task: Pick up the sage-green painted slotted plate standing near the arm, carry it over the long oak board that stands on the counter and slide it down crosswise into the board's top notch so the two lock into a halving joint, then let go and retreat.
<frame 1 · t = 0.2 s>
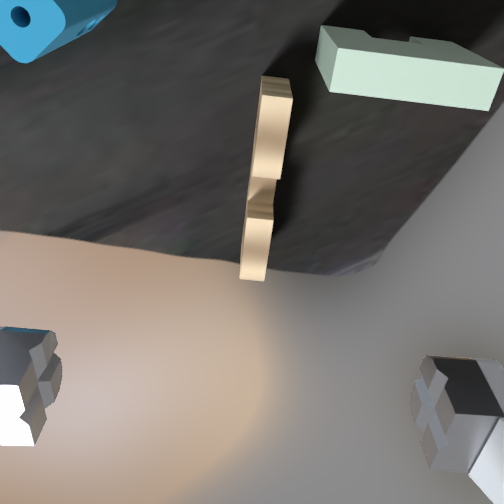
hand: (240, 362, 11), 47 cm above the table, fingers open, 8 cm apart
sage plate: (382, 51, 51), on the table
oak board: (262, 169, 59), on the table
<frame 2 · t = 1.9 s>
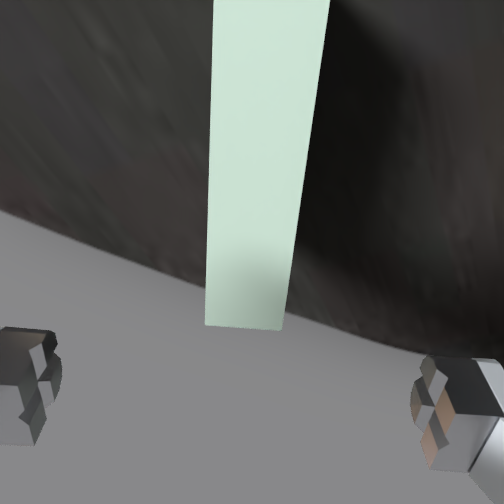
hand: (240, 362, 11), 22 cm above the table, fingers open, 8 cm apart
sage plate: (259, 94, 29), on the table
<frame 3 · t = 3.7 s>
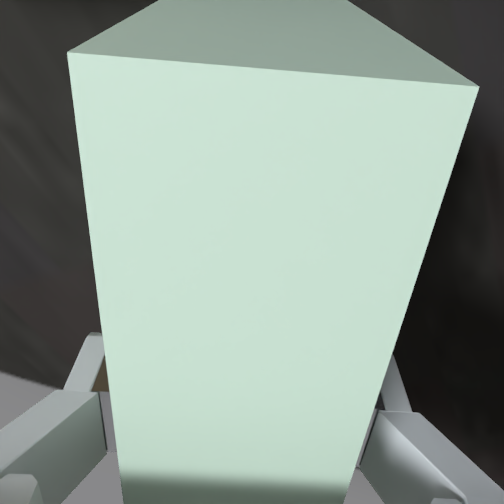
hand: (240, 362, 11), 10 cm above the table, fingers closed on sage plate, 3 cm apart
sage plate: (247, 182, 19), on the table, touching gripper
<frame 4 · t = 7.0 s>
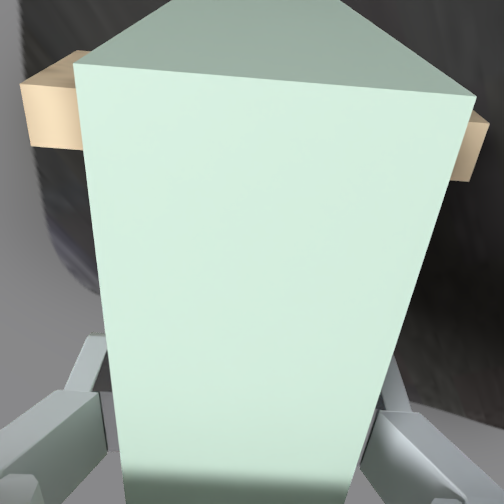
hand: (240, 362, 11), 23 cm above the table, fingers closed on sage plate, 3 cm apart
sage plate: (248, 184, 19), point 13 cm above the table, touching gripper
oak board: (257, 91, 30), on the table
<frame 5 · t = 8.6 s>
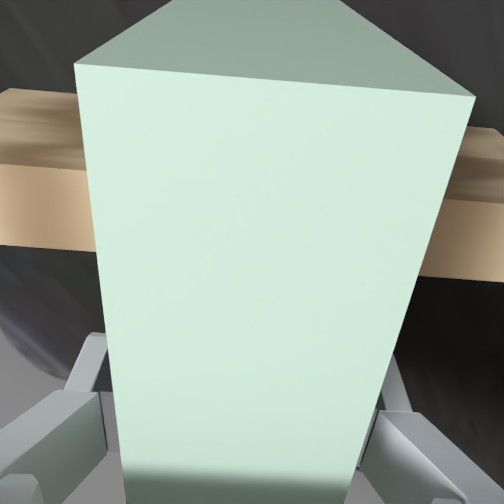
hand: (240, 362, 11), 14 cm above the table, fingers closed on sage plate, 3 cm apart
sage plate: (248, 184, 19), point 4 cm above the table, touching gripper
oak board: (252, 140, 22), on the table
when the fingers open (10 cm above the table, at t = 10.1 s): sage plate stays where it is, on the table.
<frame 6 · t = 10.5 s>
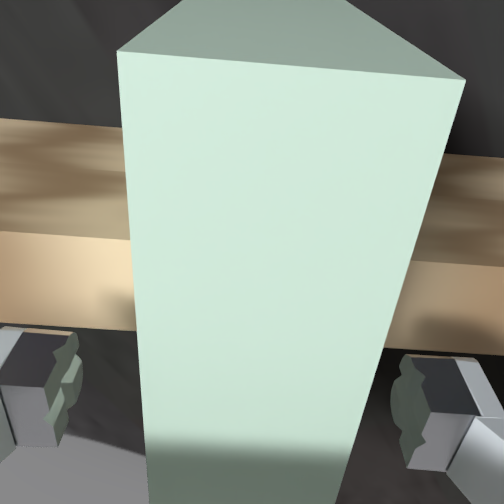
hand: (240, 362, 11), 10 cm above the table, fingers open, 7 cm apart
sage plate: (252, 176, 19), on the table
oak board: (247, 173, 19), on the table
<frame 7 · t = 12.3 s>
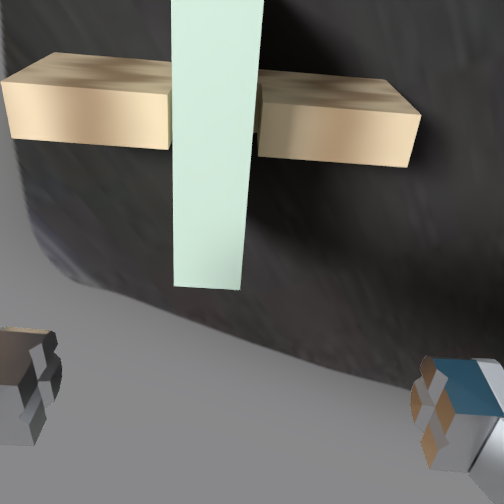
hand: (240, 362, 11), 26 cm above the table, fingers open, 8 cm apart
sage plate: (224, 91, 33), on the table
oak board: (221, 89, 33), on the table
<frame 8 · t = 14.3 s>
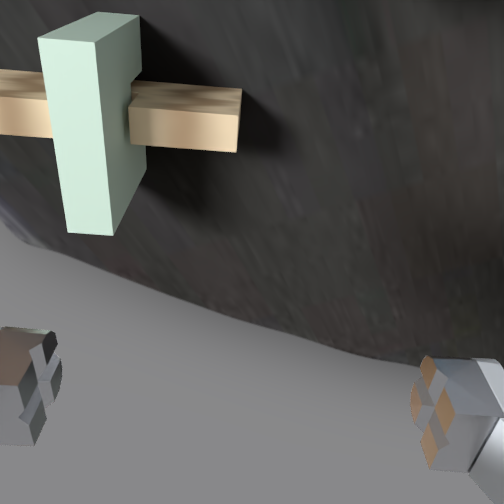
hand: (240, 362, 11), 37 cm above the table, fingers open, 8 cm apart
sage plate: (124, 97, 44), on the table
oak board: (122, 95, 44), on the table
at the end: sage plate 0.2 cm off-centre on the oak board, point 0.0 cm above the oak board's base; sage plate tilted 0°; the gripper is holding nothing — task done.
